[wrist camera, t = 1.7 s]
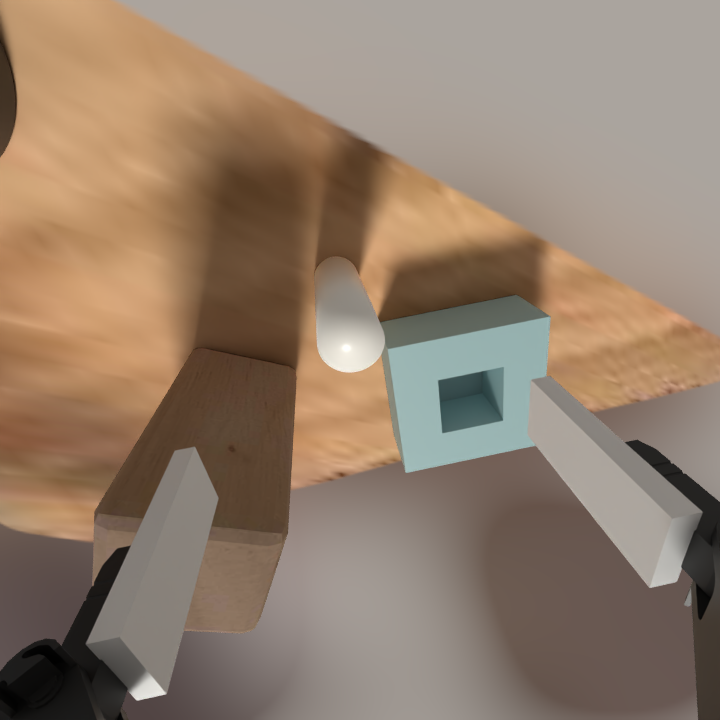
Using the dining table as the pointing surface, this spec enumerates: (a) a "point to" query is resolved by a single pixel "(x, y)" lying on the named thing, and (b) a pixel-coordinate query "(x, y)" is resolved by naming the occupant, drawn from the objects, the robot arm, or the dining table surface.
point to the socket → (463, 379)
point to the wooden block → (217, 480)
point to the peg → (345, 318)
